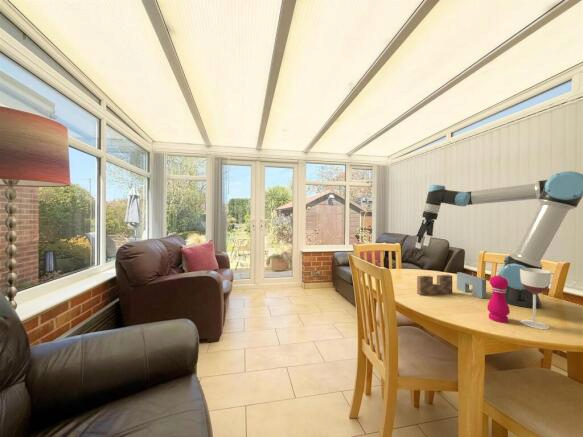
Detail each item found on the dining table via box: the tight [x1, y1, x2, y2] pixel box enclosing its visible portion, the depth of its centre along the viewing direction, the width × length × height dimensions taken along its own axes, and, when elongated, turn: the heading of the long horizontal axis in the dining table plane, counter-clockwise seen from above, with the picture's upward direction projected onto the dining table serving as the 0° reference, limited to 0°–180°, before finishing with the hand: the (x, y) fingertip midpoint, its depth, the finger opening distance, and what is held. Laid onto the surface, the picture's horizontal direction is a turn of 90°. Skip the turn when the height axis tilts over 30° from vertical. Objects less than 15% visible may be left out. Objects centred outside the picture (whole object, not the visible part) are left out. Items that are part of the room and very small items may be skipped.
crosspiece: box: [456, 272, 487, 299], centre depth 135 cm, size 16×2×10 cm, turn 9°
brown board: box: [416, 274, 453, 296], centre depth 135 cm, size 20×2×10 cm, turn 99°
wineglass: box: [519, 268, 552, 330], centre depth 97 cm, size 9×10×22 cm
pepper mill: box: [486, 272, 511, 324], centre depth 102 cm, size 7×7×20 cm
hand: (421, 246), depth 142 cm, fingers open, 13 cm apart
